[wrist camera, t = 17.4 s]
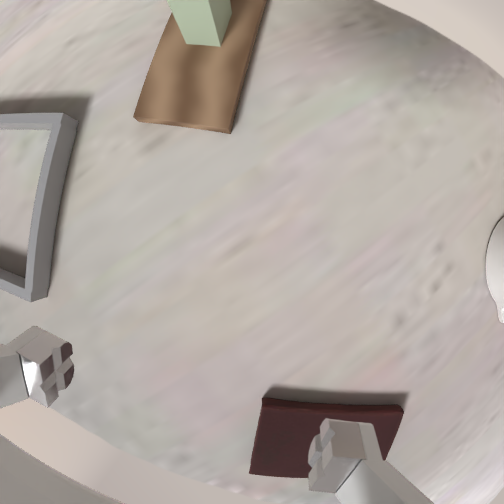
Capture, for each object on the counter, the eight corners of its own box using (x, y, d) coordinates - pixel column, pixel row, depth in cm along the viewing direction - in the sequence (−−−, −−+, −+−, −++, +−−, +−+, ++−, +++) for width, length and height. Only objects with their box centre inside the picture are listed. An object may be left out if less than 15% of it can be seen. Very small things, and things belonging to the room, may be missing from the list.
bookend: (269, -9, 34) (269, -87, 18) (230, 133, 36) (207, 71, 20) (190, -14, 35) (165, -86, 19) (139, 121, 37) (74, 69, 21)
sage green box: (232, 13, 33) (221, -48, 21) (220, 46, 33) (204, -14, 22) (199, 10, 33) (180, -48, 21) (186, 44, 34) (160, -13, 22)
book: (262, 393, 39) (261, 406, 35) (398, 401, 38) (406, 412, 35) (249, 461, 40) (248, 475, 36) (372, 466, 39) (377, 478, 36)
